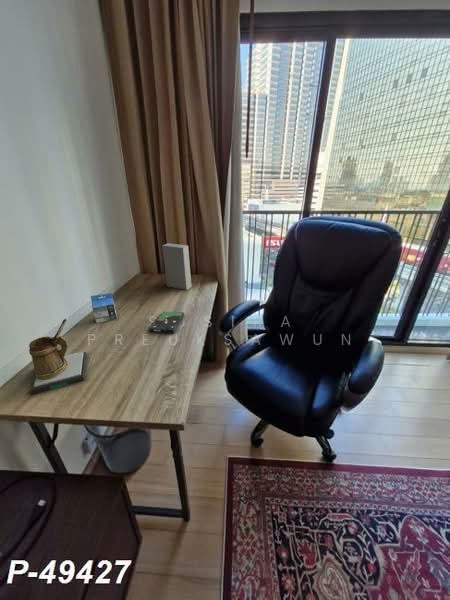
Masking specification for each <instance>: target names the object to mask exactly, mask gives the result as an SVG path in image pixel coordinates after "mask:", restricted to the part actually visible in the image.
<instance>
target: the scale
mask: <svg viewBox="0 0 450 600" xmlns="http://www.w3.org/2000/svg"><path fill="white" fill-rule="evenodd" d="M87 356H88V355H87V352H86V351H79V352H74V353H71V354H65V356H64V358H65V359H66V360H67V362H68V366H67V368H66V369H65V370H64V371H63V372H62V373H61V374H59V375H58V376H56V377H53V378H50V379H46V380H39V379H37V378H36V376H35V377H34V380H33V383H32V386H31V389H30V393H31V394H32V395H36V394H40V393H43V392H47V391H51V390H56V389H59V388H61V387H66V386H69V385H73V384H76V383H80V382H84V381H85V377H86V365H87Z"/></svg>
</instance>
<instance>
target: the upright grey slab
mask: <svg viewBox="0 0 450 600" xmlns="http://www.w3.org/2000/svg"><path fill="white" fill-rule="evenodd" d="M161 248H162V255H163V264H164V271H165V279H166V287H168V288H173V289H179V290H185V291H188V290H189V289H191V288H192V287H193V284H192V277H191V265H190V264H191V263H190V262H191V261H190V250H189V245H188V244H187V245H186V244H178V243H168V242H167V243H165V244H162V245H161Z"/></svg>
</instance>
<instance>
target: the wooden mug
mask: <svg viewBox="0 0 450 600" xmlns="http://www.w3.org/2000/svg"><path fill="white" fill-rule="evenodd" d="M66 323H67V318H63V320H62V322H61V324H60V326H59V328H58V329H57V331H56V333H55V335H54V336H41V337H37V338H36V339H33V340H32V341H30V342H29V344H28V347H29V348H28V350H29V351H28V353H29V355H30V356H31V360H32V365H33V368H34V371H33V372H34V376H35V377H36V378H37V379H39V380H46V379H50V378H53V377H56V376H58V375H59V374H61V373H62V372H63V371H64V370H65V369H66V368H67V366H68V362H67V360H66V359H65V358H64V356H65V355H66V353H67V351H68V342H67V341H66V339H65V338H64V337H63V336H61V334H62V331H63V329H64V327H65V325H66ZM58 346H60V347H61V348H60V349H59V348H58Z"/></svg>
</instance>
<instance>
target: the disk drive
mask: <svg viewBox="0 0 450 600" xmlns="http://www.w3.org/2000/svg"><path fill="white" fill-rule="evenodd" d="M184 317H185V313H184V311H165V310H164V311H162V312H161V313H160V314H159V316H158V317H157V318H156V320H155V321H154V323H153V324H151V326H150V333H156V334H157V333H158V334H171V335H172V334H173V335H174V334H175V333H176V331H177V330H178V328H179V326H180V324H181V322H182V321H183V319H184Z"/></svg>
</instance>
